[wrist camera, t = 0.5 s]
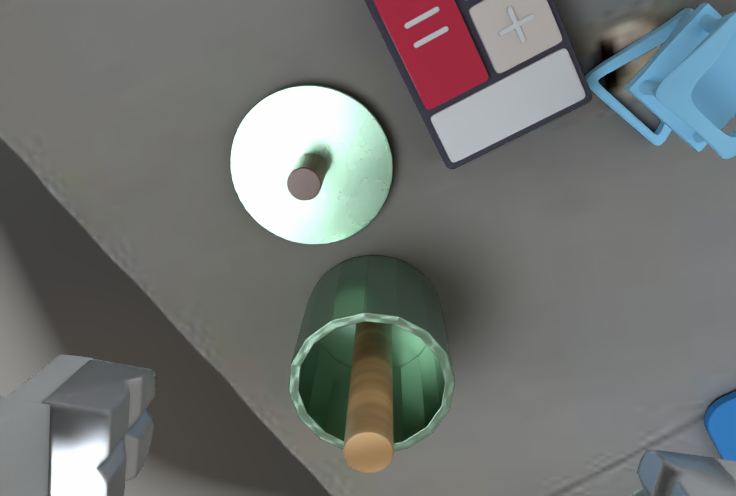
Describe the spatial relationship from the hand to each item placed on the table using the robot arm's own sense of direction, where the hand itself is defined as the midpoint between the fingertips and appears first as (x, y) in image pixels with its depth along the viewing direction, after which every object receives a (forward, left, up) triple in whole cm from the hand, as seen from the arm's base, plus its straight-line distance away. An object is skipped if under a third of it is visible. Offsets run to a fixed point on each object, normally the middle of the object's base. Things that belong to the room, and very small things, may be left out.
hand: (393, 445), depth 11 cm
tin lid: (+3, -7, -39) cm, 40 cm away
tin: (+17, -6, -40) cm, 44 cm away
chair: (+3, +19, -40) cm, 45 cm away
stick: (+17, -6, -39) cm, 43 cm away
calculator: (-3, +7, -40) cm, 41 cm away
